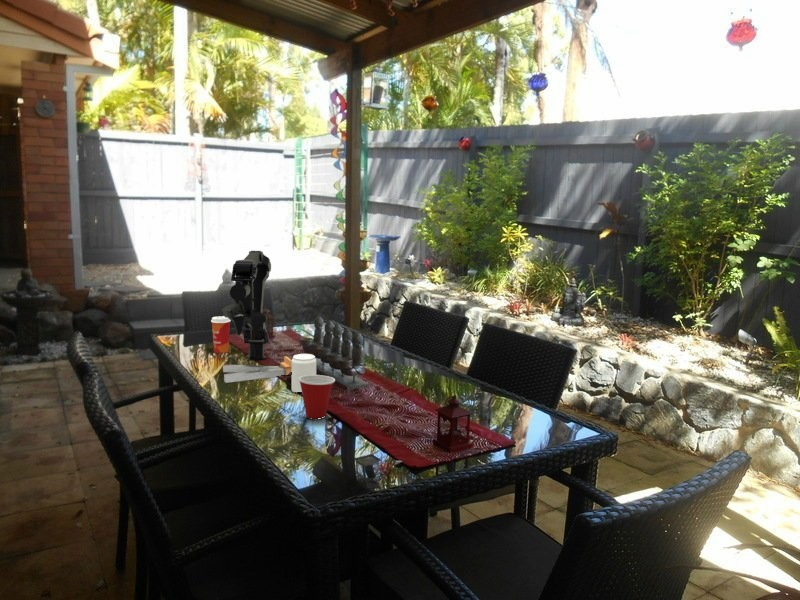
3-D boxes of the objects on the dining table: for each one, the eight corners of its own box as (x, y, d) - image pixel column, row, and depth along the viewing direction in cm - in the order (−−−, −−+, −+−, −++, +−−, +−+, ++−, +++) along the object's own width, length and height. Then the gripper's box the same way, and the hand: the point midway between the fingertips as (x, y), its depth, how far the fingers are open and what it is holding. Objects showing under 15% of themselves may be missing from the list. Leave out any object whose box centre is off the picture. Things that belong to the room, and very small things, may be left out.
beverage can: (303, 396, 212) (303, 361, 210) (286, 391, 217) (286, 356, 215) (321, 391, 218) (321, 356, 216) (304, 386, 223) (304, 352, 221)
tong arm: (279, 372, 238) (279, 366, 237) (278, 374, 236) (278, 367, 235) (224, 370, 238) (224, 364, 238) (223, 372, 236) (223, 366, 236)
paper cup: (210, 350, 267) (209, 316, 265) (229, 348, 270) (228, 315, 268) (213, 354, 260) (212, 320, 258) (232, 353, 263) (232, 319, 261)
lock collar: (280, 371, 239) (280, 356, 238) (286, 370, 240) (286, 356, 239) (286, 376, 233) (286, 361, 232) (292, 375, 234) (292, 361, 233)
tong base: (222, 379, 228) (222, 372, 228) (287, 371, 240) (287, 365, 239) (226, 383, 224) (226, 376, 223) (291, 375, 235) (291, 368, 235)
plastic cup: (342, 414, 197) (342, 376, 194) (320, 425, 187) (320, 385, 185) (313, 407, 202) (313, 370, 200) (290, 418, 193) (290, 378, 191)
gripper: (211, 294, 236) (212, 336, 239) (239, 302, 223) (240, 346, 226) (238, 290, 244) (239, 331, 247) (267, 298, 231) (267, 341, 234)
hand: (245, 337), depth 238 cm, fingers open, 9 cm apart
